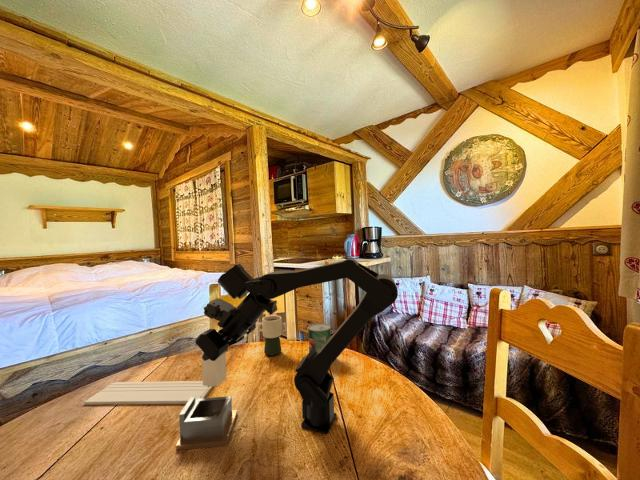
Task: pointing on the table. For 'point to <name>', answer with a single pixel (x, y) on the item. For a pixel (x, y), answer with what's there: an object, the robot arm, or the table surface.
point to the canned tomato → (318, 335)
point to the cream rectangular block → (214, 370)
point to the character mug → (272, 333)
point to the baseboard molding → (150, 393)
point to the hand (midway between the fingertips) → (209, 355)
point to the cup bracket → (206, 423)
